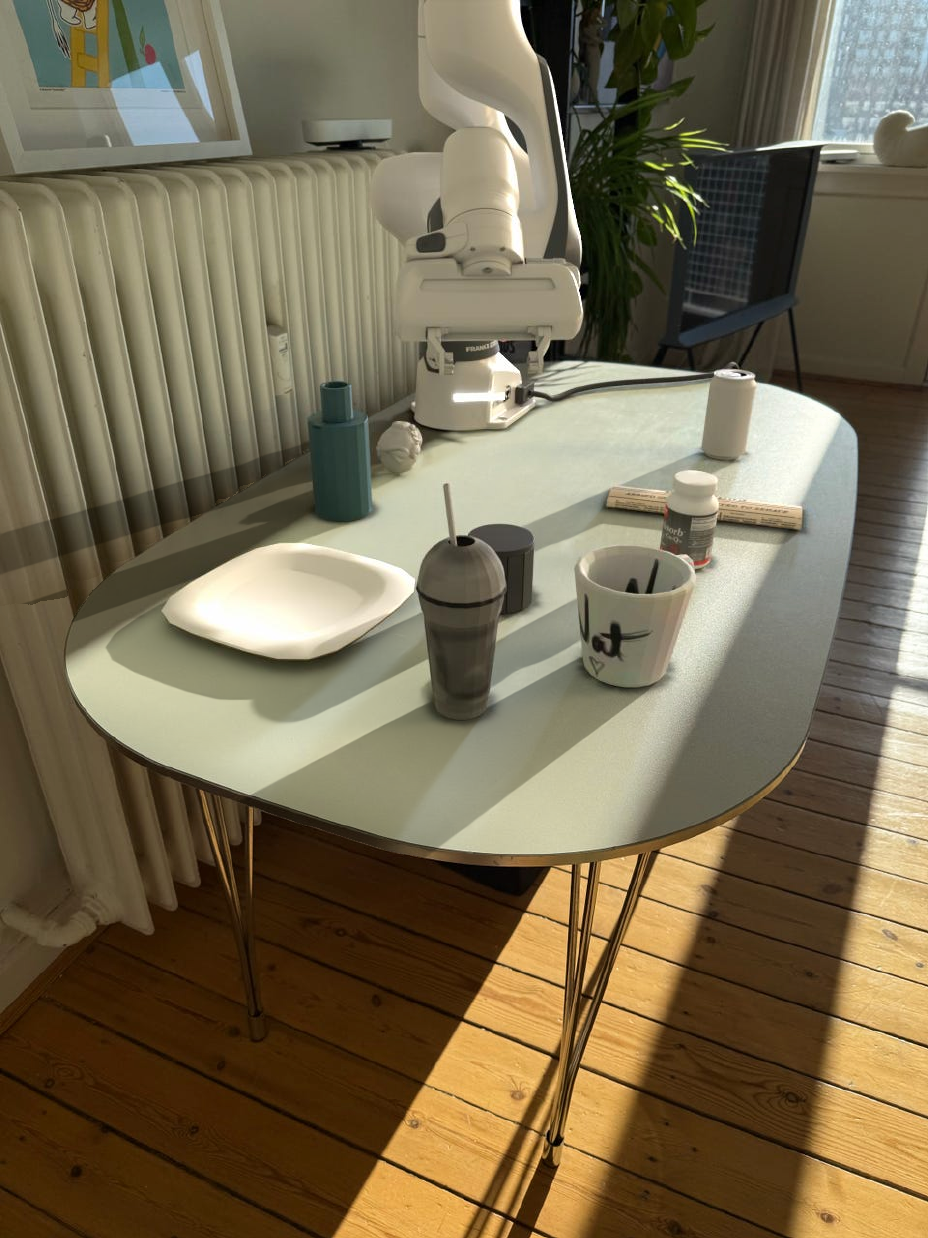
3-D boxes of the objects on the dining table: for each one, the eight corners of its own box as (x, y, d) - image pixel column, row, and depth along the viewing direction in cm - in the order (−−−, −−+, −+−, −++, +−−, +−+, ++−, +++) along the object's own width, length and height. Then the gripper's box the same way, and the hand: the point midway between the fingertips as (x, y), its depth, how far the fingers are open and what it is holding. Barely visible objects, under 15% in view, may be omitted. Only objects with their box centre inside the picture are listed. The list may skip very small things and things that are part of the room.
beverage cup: (495, 735, 74) (501, 507, 64) (409, 724, 75) (402, 499, 65) (509, 686, 80) (516, 472, 70) (429, 677, 81) (425, 465, 71)
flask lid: (490, 577, 98) (491, 518, 95) (543, 594, 95) (547, 534, 91) (453, 601, 93) (453, 540, 90) (508, 620, 90) (510, 557, 86)
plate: (313, 687, 79) (312, 671, 78) (136, 627, 88) (133, 611, 88) (438, 588, 96) (438, 574, 95) (278, 545, 105) (277, 532, 104)
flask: (341, 495, 119) (333, 373, 111) (383, 507, 115) (378, 383, 107) (303, 512, 114) (291, 386, 106) (345, 526, 110) (337, 396, 102)
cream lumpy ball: (432, 469, 127) (431, 421, 124) (400, 483, 122) (398, 433, 119) (399, 460, 130) (398, 413, 127) (367, 474, 126) (364, 425, 122)
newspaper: (606, 510, 115) (607, 496, 114) (614, 490, 121) (615, 477, 120) (799, 533, 109) (802, 519, 108) (798, 511, 115) (801, 498, 114)
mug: (544, 665, 83) (549, 567, 78) (640, 610, 92) (650, 520, 87) (637, 712, 76) (649, 610, 71) (730, 648, 85) (747, 553, 80)
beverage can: (753, 458, 132) (767, 376, 126) (717, 463, 130) (729, 380, 124) (727, 445, 137) (739, 365, 131) (691, 450, 135) (702, 369, 129)
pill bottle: (649, 553, 104) (658, 471, 99) (691, 546, 105) (703, 465, 100) (676, 574, 99) (687, 489, 94) (720, 566, 101) (733, 483, 96)
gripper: (572, 277, 102) (583, 385, 98) (392, 278, 101) (395, 388, 97) (583, 239, 96) (594, 353, 92) (390, 240, 95) (394, 355, 91)
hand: (491, 371), depth 94 cm, fingers open, 8 cm apart
